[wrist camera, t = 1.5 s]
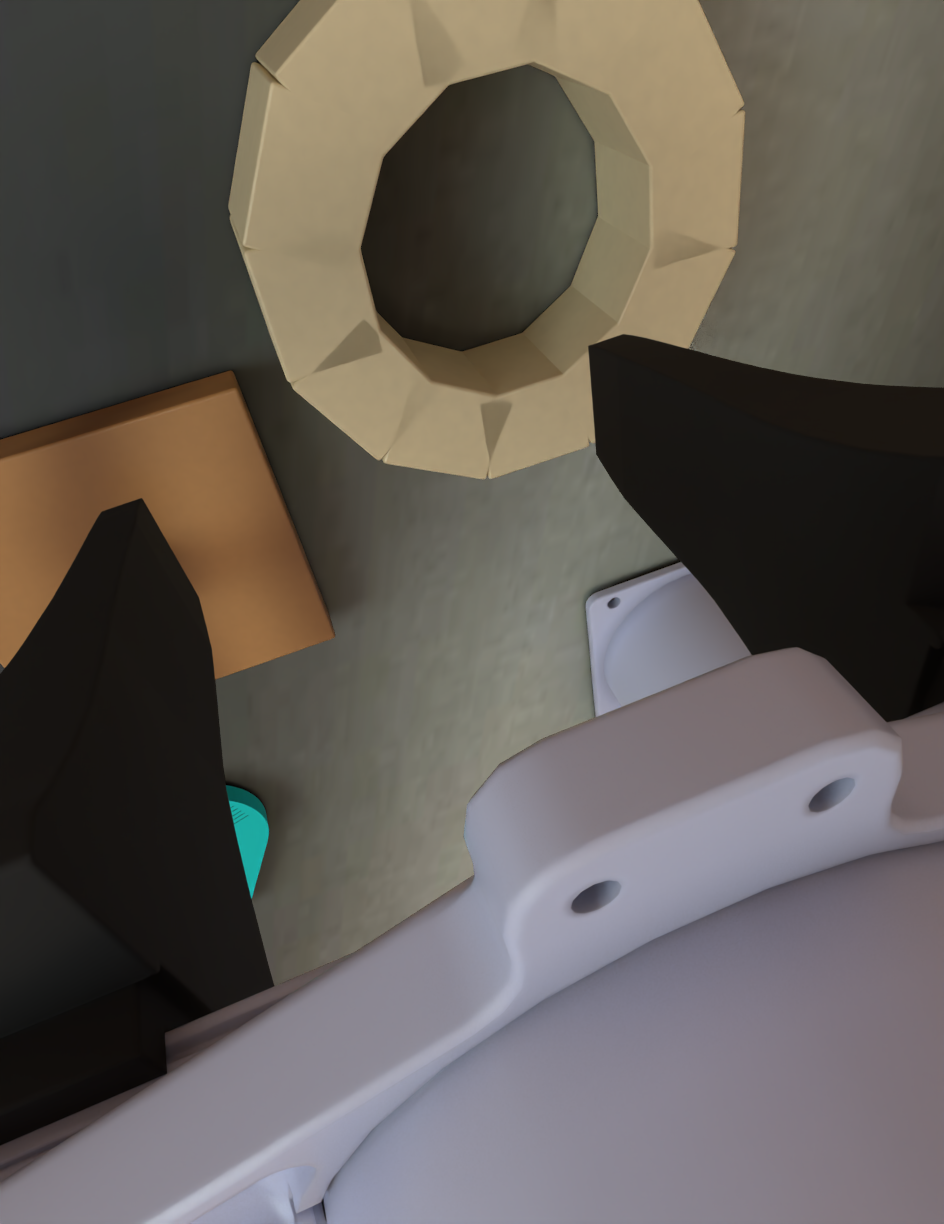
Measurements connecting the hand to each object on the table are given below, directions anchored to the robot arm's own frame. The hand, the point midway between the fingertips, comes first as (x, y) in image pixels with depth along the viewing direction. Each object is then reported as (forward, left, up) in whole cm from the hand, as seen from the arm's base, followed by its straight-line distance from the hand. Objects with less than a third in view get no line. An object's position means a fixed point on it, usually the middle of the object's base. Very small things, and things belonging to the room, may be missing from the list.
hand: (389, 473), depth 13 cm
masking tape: (-5, 0, -10) cm, 11 cm away
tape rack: (+7, +6, -10) cm, 14 cm away
